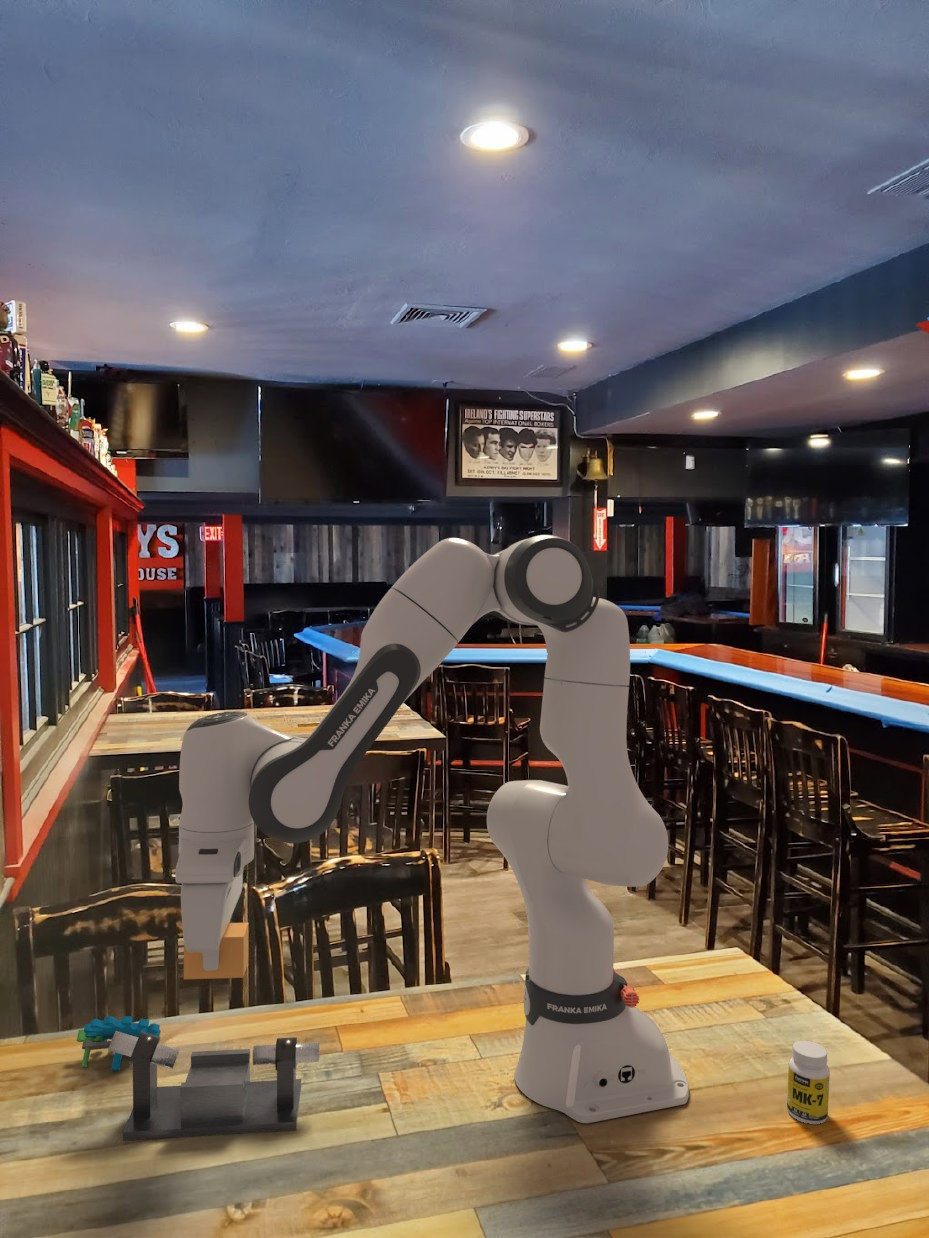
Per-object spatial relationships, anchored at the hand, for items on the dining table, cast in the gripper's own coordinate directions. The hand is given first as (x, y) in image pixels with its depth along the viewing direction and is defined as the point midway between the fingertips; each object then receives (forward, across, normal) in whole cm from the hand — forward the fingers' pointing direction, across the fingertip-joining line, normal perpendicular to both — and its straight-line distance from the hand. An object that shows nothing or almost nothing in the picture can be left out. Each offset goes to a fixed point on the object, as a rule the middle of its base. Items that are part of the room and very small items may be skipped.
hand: (216, 957), depth 109 cm
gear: (+20, -14, -15) cm, 29 cm away
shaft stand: (+20, 0, 0) cm, 20 cm away
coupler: (+2, 0, 0) cm, 2 cm away
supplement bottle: (+19, +7, +73) cm, 76 cm away
